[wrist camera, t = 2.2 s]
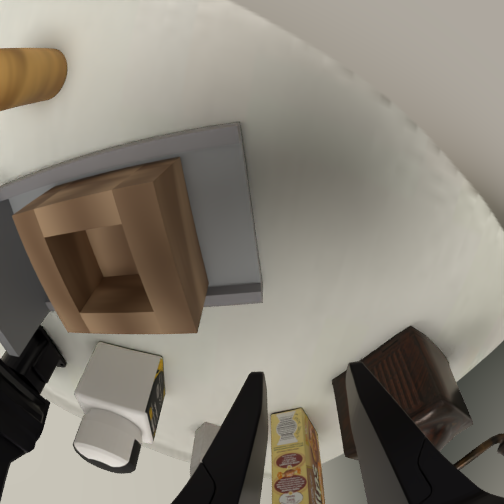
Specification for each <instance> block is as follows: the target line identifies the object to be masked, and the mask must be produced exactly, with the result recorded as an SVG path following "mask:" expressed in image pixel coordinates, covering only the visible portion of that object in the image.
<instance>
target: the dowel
mask: <svg viewBox="0 0 504 504" xmlns="http://www.w3.org/2000/svg"><path fill="white" fill-rule="evenodd" d="M66 75H67V62H66V59H65V57H64V55H63V53H62V52H61V51H59V50H57V49H49V48H2V49H0V111H2V110H6V109H10V108H14V107H18V106H22V105H27V104H31V103H36V102H40V101H45V100H49V99H51V98H53V97H54V96H55V95H56V94H57V93H58V92H59V91H60V90H61V88H62V86H63V84H64V82H65V79H66Z"/></svg>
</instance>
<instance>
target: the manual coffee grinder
mask: <svg viewBox="0 0 504 504" xmlns="http://www.w3.org/2000/svg"><path fill="white" fill-rule="evenodd" d="M360 361H361V362H362V363H363V364H364V365H365V366H366V367H367V368H368V369H369V371H370V372H371V373H372V374H373V375H374V376H375V377H376V379H377V380H378V381H379V382H380V383H381V384H382V386H383V387H384V388H385V389H386V390H387V391H388V392H389V394H390V395H391V396H392V397H393V398H394V399H395V401H396V402H397V403H398V404H399V405H400V406H401V408H402V409H403V410H404V411H405V412H406V413H407V415H408V416H409V417H410V418H411V419H412V420H413V422H414V423H415V424H416V425H417V426H418V427H419V429H420V430H421V431H422V432H423V433H424V435H425V437H427V438H428V439H429V440H430V441H431V443H432V444H433V445H434V446H435V447H436V448H437V449H438V451H439V452H440V451H441V449H442V448H443V447H444V446H445V445H446V444H447V443H448V442H449V441H451V440H452V439H453V437H454V436H455V435H457V434H458V433H460V432H462V431H463V430H465V429H467V428H468V427H470V426H471V425H473V421H472V418H471V416H470V414H469V411H468V409H467V406H466V404H465V402H464V399H463V397H462V395H461V392H460V390H459V388H458V386H457V383H456V381H455V379H454V376H453V374H452V371H451V369H450V366H449V362H448V360H447V359H446V358H445V356H444V355H443V353H442V352H441V351H440V349H439V348H438V347H437V346H436V345H435V344H434V343H433V342H432V341H431V340H430V339H429V338H428V337H427V336H426V335H424V334H423V333H421V332H419V331H417V330H416V329H414V328H412V327H411V326H410V327H408V328H407V329H405V330H403V331H402V332H400V333H398V334H397V335H395V336H394V337H392V338H391V339H390V340H388V341H387V342H386V343H384V344H383V345H381V346H380V347H379V348H377V349H376V350H374V351H373V352H372V353H370V354H369V355H367V356H366V357H364V358H363V359H362V360H360ZM346 373H347V370H346V371H345V372H344V373H342V374H341V375H339V376H338V377H336V378H335V379H333V380H332V385H333V388H334V394H335V399H336V405H337V411H338V418H339V424H340V430H341V436H342V442H343V449H344V454H345V456H346V457H348V458H351V459H355V460H359V459H358V455H357V451H356V446H355V442H354V438H353V434H352V429H351V423H350V415H349V406H348V398H347V390H346ZM497 443H500V445H499V448H498V450H497V452H498V453H500V454H502V455H503V456H504V434H498V435H495V436H493V437H491V438H489V439H488V440H486V441H485V442H483V443H482V444H480V445H479V446H478V447H476V448H475V449H474V450H472V451H471V452H470V453H469V454H467V455H466V456H465V457H463V458H462V459H461V460H459V461H458V462H457V463H455V464H454V466H455V467H456V468H457V469H458V470H460V469H462V468H463V467H464V466H465V465H467V464H468V463H470V462H471V461H472V460H474V459H475V458H476V457H478V456H479V455H480V454H482V453H483V452H484V451H485V450H487V449H488V448H490V447H491V446H493V445H494V444H497Z"/></svg>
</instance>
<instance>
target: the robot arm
mask: <svg viewBox="0 0 504 504" xmlns="http://www.w3.org/2000/svg"><path fill="white" fill-rule="evenodd" d="M56 366H58V367H65V366H66V362H65V361H64V359H63V358H62V357H61V355H60V354H59V352H58V351H57V349H56V348H55V346H54V345H53V343H52V342H51V340H50V339H49V337H48V336H47V334H46V333H45V331H44V329H43V328H42V327H40V326H39V327H38V329H37V330H36V332H35V333H34V335H33V336H32V338H31V339H30V341H29V342H28V344H27V345H26V347H25V348H24V350H23V352H22V353H21V355H20V356H19V357H17V356H12V355H9V354H8V352H7V351H6V352H5V353H4V355H3V356H2V358H1V359H0V501H1V497H2V492H3V488H4V484H5V481H6V477H7V473H8V469H9V466H10V463H11V462H13V461H14V460H16V459H17V458H19V457H21V456H22V455H24V454H25V453H28V452H30V451H32V450H33V449H34V447H35V443H36V441H37V440H38V439H39V437H40V435H41V433H42V431H43V428H44V424H45V420H46V416H47V412H48V409H49V405H50V402H49V401H48V400H47V399H44V398H43V397H42V396H41V395H40V394H41V392H42V390H43V388H44V386H45V384H46V383H48V381H49V379H50V377H51V375H52V373H53V371H54V370H55V368H56ZM346 390H347V398H348V406H349V415H350V423H351V429H352V434H353V438H354V442H355V446H356V451H357V455H358V459H359V464H360V468H361V473H362V478H363V482H364V487H365V492H366V497H367V502H368V504H504V498H503V497H499V496H496V495H493V494H490V493H487V492H485V491H483V490H481V489H480V488H479V487H477V486H476V485H475V484H474V483H473V482H472V481H471V480H469V479H468V478H467V477H466V476H465V475H464V474H463V473H461V472H460V471H459V470H458V469H457V468H456V467H455V466H454V465H453V464H451V463H450V462H449V461H448V460H447V459H446V458H445V457H444V456H443V455H442V454H441V453H440V452H439V451H438V449H437V448H436V447H435V446H434V445H433V444H432V443H431V441H430V440H429V439H428V438H427V437H425V435H424V433H423V432H422V431H421V430H420V429H419V427H418V426H417V425H416V424H415V423H414V422H413V420H412V419H411V418H410V417H409V416H408V415H407V413H406V412H405V411H404V410H403V409H402V408H401V406H400V405H399V404H398V403H397V402H396V401H395V399H394V398H393V397H392V396H391V395H390V394H389V392H388V391H387V390H386V389H385V388H384V387H383V386H382V384H381V383H380V382H379V381H378V380H377V379H376V377H375V376H374V375H373V374H372V373H371V372H370V371H369V369H368V368H367V367H366V366H365V365H364V364H363V363H362V362H361V361H357V362H351V363H349V364H348V367H347V373H346ZM267 440H268V411H267V388H266V381H265V376H264V373H263V372H251V373H250V374H249V376H248V377H247V379H246V381H245V383H244V385H243V387H242V389H241V391H240V393H239V394H238V396H237V398H236V400H235V402H234V404H233V405H232V407H231V409H230V411H229V413H228V415H227V416H226V418H225V420H224V422H223V424H222V425H221V427H220V429H219V431H218V433H217V434H216V436H215V438H214V440H213V441H212V443H211V445H210V447H209V448H208V450H207V452H206V453H205V455H204V457H203V459H202V462H200V463H199V465H198V467H197V469H196V470H195V472H194V473H193V475H192V476H191V478H190V480H189V481H188V483H187V484H186V485H185V487H184V488H183V489H182V491H181V492H180V493H179V495H178V496H177V497H176V498H175V500H174V501H173V502H172V503H171V504H260V497H261V490H262V482H263V474H264V466H265V457H266V449H267Z"/></svg>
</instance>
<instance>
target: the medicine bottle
mask: <svg viewBox="0 0 504 504" xmlns="http://www.w3.org/2000/svg"><path fill="white" fill-rule="evenodd" d="M74 395H75V397H76V399H77V401H78V403H79V404H80V406H81V408H82V410H83V412H84V414H85V415H84V416H83V418H82V421H81V424H80V426H79V429H78V432H77V434H76V437H75V440H74V442H73V446H74V449H75V451H76V452H77V453H78V454H79V455H80V456H81V457H82V458H83V459H84V460H86V461H87V462H89V463H91V464H93V465H95V466H97V467H99V468H101V469H104V470H107V471H110V472H114V473H131V472H133V471H134V470H135V469H136V464H137V460H138V456H139V452H140V448H141V444H142V442H145V443H149V444H151V443H153V441H154V437H155V433H156V429H157V424H158V420H159V416H160V412H161V408H162V404H163V400H164V396H165V387H164V373H163V359H162V357H161V356H157V355H152V354H148V353H143V352H139V351H135V350H130V349H126V348H122V347H118V346H114V345H111V344H107V343H103V342H99V343H98V344H97V346H96V348H95V350H94V352H93V354H92V356H91V358H90V360H89V362H88V364H87V366H86V368H85V370H84V373H83V375H82V377H81V379H80V381H79V383H78V386H77V388H76V390H75V393H74Z"/></svg>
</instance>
